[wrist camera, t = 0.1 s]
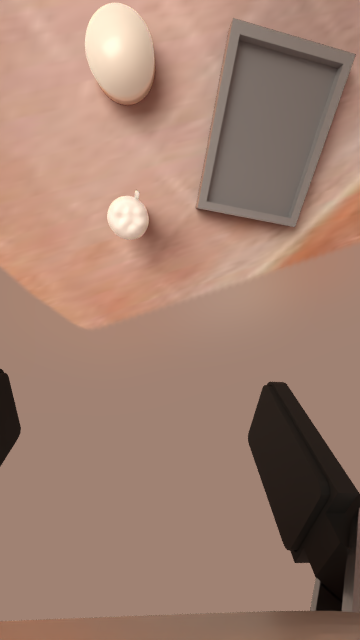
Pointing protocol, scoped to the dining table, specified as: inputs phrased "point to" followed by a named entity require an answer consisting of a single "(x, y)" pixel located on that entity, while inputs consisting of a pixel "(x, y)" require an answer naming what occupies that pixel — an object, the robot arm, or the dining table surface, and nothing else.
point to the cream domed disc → (120, 53)
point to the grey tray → (269, 122)
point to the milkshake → (128, 217)
